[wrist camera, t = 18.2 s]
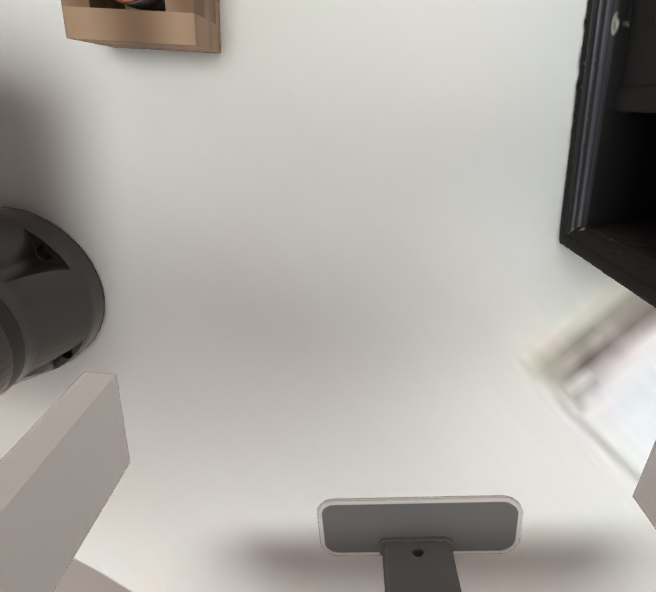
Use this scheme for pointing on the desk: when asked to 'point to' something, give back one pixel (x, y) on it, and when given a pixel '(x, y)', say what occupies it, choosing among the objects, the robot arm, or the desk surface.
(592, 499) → the desk surface
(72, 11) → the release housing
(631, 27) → the small black cabinet
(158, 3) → the plunger
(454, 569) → the computer monitor
